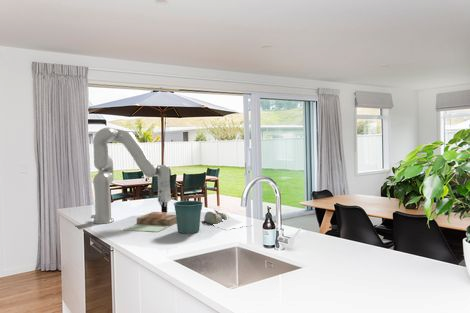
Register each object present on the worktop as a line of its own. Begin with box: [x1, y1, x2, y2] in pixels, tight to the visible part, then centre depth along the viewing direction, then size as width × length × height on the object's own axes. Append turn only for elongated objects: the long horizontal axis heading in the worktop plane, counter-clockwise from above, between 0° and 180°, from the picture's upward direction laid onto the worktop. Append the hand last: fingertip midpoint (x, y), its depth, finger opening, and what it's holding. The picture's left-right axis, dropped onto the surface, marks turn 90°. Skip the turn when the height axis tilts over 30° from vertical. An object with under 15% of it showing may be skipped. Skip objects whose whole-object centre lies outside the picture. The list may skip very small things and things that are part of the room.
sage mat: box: [123, 223, 170, 233], centre depth 223 cm, size 22×14×1 cm, turn 74°
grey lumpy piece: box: [200, 209, 227, 227], centre depth 235 cm, size 33×8×20 cm
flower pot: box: [173, 200, 204, 235], centre depth 214 cm, size 16×16×16 cm
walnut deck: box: [136, 213, 177, 227], centre depth 237 cm, size 22×14×4 cm, turn 74°
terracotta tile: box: [148, 211, 167, 218], centre depth 236 cm, size 9×6×2 cm, turn 74°
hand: (164, 212), depth 245 cm, fingers closed
